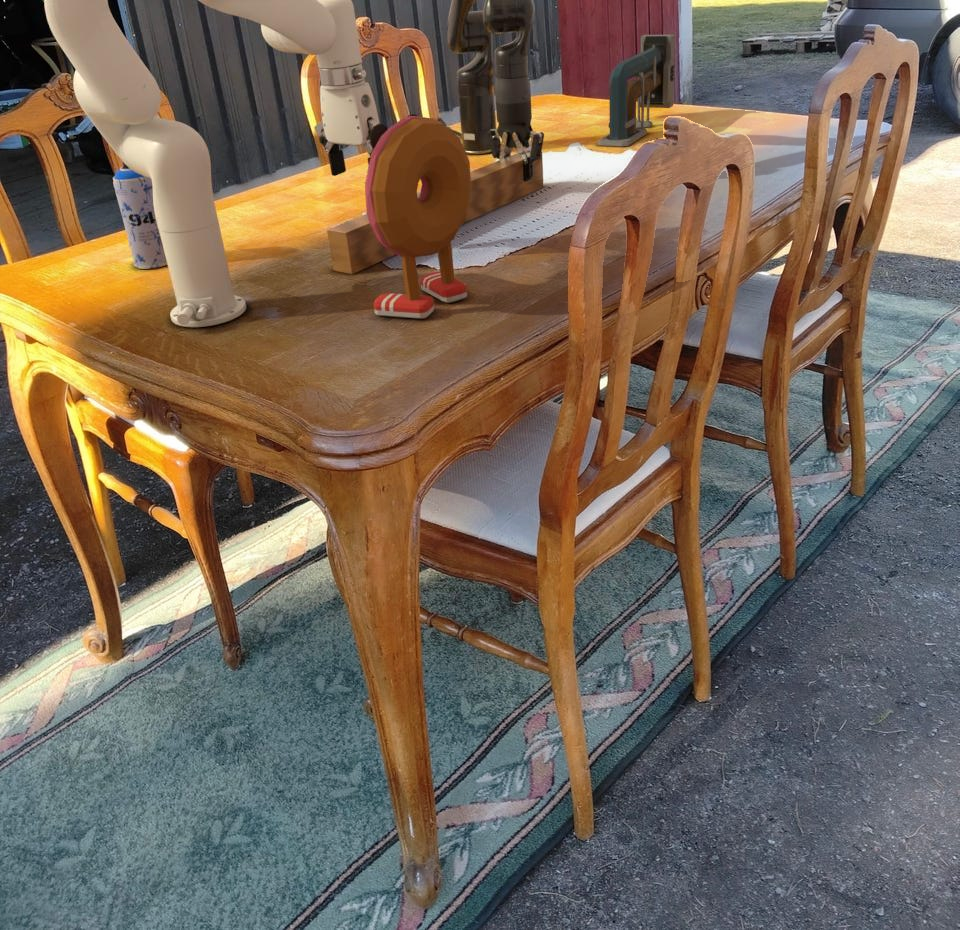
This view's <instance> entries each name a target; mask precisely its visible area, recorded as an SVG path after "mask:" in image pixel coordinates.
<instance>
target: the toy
mask: <svg viewBox="0 0 960 930" xmlns="http://www.w3.org/2000/svg"><path fill="white" fill-rule="evenodd" d="M446 126H447V125H446ZM446 126H445V125H444V124H442V123H441V122H440V121H438V120H437V119H435V118H431V117H425V116H419V115H417V114H415V113H414V114H413V113H410V114H409V115H407V116H405V117H403V118H401V119H400V120H398V121H397V122H396V123H394V124H393V125H392V126H390V127H389V128H388V126H386V125H385V124H384V123H380V124H377V125H376V126H374V127H373V129H372V130H371V133H370V145H371V146H372V148H373V151H372V154H371V158H370V162H369V165H367V166H368V167H367V171H366V172H367V173H366V178H365V182H364V195H365V208H366V209H365V210H366V211H365V212H366V214H367V216H368V220H369V223H370V225H371V227H372V229H373V231H374V233H375V235H376V237H377V239H378V240H379V241H380V242H381V244H382V245H383V246H385V247H386V248H387V249H389V250H390V251H392V252H394V253H396V255H397V256H399V257H401V269H402V277H403V282H404V290H405V293H387V292H386V293H382V294H380V295H379V296H378V297H377V298H375V300H374V302H373V310H374V314H375V315H376V316H380V317H393V318H404V319H405V318H407V319H409V318H410V319H426V318H428V317H429V316H430V315H431V314H432V313H433V312H434V311H435V303H434V298H433V297H435V298H436V299H437V300H439V301H441V302H443V303H446V304H448V303H449V304H450V303H454V302H457V301H461V300H464V299H466V298H467V297H468V291H467V285H466V283H465V282H463V281H461V280H459V279H457V278H455V270H454V260H453V247H452V241H454V239H455V237H456V236H457V235H458V232H459V231H460V228H461V227H462V225H463V224H464V223H463V221H464V219H465V218H466V214H467V209H468V204H469V200H470V195H471V190H472V187H471V175H470V172H471V163H470V160H469V157H468V154H466V152H465V150H464V147H463V145H462V139H461V137H460V136H459V135H457V134H454V133H453V132H452V131H451V130H450V129H451V128H449V127H448V126H447V127H448V128H449V129H448V128H447V127H446ZM419 182H421V186H420V191H419V192H420V195H419V198H418V197H417V193H418V188H419ZM462 223H463V224H462ZM435 254H437V257H438V264H439V271H434V272H430V273H426V274H423V275H422V276H421V277H420V282H419V276H418V269H417V268H418V267H417V258H421V257H427V256H428V257H429V256H433V255H435ZM419 283H420V285H419ZM420 289H421V290H422V291H424V292H426V293H427V294H428V295H421V294H420V292H421V291H420ZM430 295H431V296H430Z"/></svg>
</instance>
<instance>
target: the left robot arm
mask: <svg viewBox="0 0 960 930" xmlns="http://www.w3.org/2000/svg"><path fill="white" fill-rule="evenodd" d="M197 1H198V2H200V3H201V4H203V5H204V6H205V7H208V8H210V9H213V10H215V11H217V12H220V13H223V14H227V15H230V16H235V17H238V18H242V19H247V20H249V21H252V22H254V23H257V24H260V31H261V34H262V37H263V38H264V40H265V42H266V43H267V44H268V46H270V47H271V48H273V49H274V50H276V51H279V52H282V53H288V54H300V55H301V54H302V55H308V56H309V55H310V56H316V63H317V67H318V73H319V79H320V80H319V81H320V87H319V89H320V90H319V93H320V94H319V96H320V97H319V98H320V99H319V100H320V109H321V110H320V112H321V119H322V120H321V121H320V122H318V123H317V124H316V125H314V126H313V129H314V131H315V134H316V135H317V137H318V141H319V143H320V144H321V145H322V146H323V148H324V149H323V150H324V152H325V153H326V154H327V156H328V163H329V168H330V173H331V176H334V177H336V176H338V175H342V174H343V173H345V172H347V169H346V168H347V167H346V161H345V157H344V155H345V154H344V151H343V149H342V148H341V147H342V146H350V147H351V146H353V147H362V148H363V149H364V150H365V152H366V153H367V155H368V156H369V157H367V166H369V162H370V158H371V154H372V151H373V148H372V146H371V144H370V133H371V130H372V129H373V127H374V126H376V125H377V124H381V123H380V119H379V114H378V109H377V106H376V105H377V104H376V101H375V98H374V93H373V92H372V89H371V86H370V83H369V82H366V79H365V78H366V77H367V72H366V70H365V69H364V66H363V60H362V59H363V58H362V53H361V46H360V40H359V33H358V27H357V20H356V13H355V6H354V2H353V1H352V0H197ZM43 3H44V12H45V16H46V21H47V24H48V25H49V29H50V31H51V34H52V36H53V37H54V38H55V40H56V42H57V44H58V46H59V47H60V48H61V50H62V51H63V52H64V54H65V56H66V58H68V60H69V61H70V63H71V65H72V66H73V67H74V69H75V70H74V74H73V79H72V80H73V81H72V82H73V83H72V84H73V91H74V95H75V98H76V100H77V102H78V104H79V106H80V108H81V109H82V111H83V112H84V114H85V115H86V116H87V118H88V119H89V121H90V122H91V123H92V125H93V126H94V127H95V128H96V130H97V131H98V132H99V133H100V135H101V136H102V137H103V139H104V140H105V142H106V143H107V144H108V145H109V146H110V148H111V149H112V150H113V152H114V153H115V154H116V156H117V157H118V158H119V159H120V160H121V162H122V161H123V162H124V163H125V164H126V165H127V166H128V167H129V168H130V169H131V170H133V171H134V172H136V173H138V174H140V175H143V176H146V177H149V178H151V180H152V185H153V205H154V212H155V217H156V221H157V225H158V229H159V232H160V236H161V240H162V244H163V248H164V252H165V256H166V260H167V269H168V273H169V276H170V280H171V284H172V289H173V293H174V295H175V300H176V301H175V302H176V304H177V305H176V306H174V307H173V308H172V310H171V311H170V313H169V315H170V316H169V317H170V320H171V322H172V323H173V324H174V325H176V326H179V327H182V328H183V327H184V328H205V327H213V326H217V325H221V324H224V323H228V322H230V321H233V320H235V319H237V318H238V317H240V316H241V315H243V314H244V313H245V311H246V310H247V303H246V300H245V299H244V298H243V297H241V296H239V295H236V294H235V292H234V291H235V290H234V287H233V281H232V278H231V273H230V268H229V264H228V260H227V255H226V249H225V245H224V241H223V240H224V239H223V236H222V232H221V226H220V223H219V222H220V221H219V218H218V213H217V209H216V204H215V198H214V191H213V184H212V183H213V182H212V165H211V164H212V163H211V155H210V150H209V149H208V146H207V144H206V141H205V139H204V138H203V137H202V136H201V135H200V133H199V132H197V131H196V130H195V128H193V127H191V126H189V124H188V125H187V124H186V123H184V122H181V121H177V120H173V119H169V118H164V117H161V116H160V115H159V112H160V109H161V105H162V93H161V90H160V87H159V85H158V82H157V81H156V79H155V77H154V76H153V73H151V71H150V70H149V68H148V67H147V66H146V65H145V63H144V61H143V60H142V59H141V57H140V56H139V55H138V53H137V52H136V50H135V49H134V48H133V46H132V45H131V43H130V42H129V40H128V39H127V38H126V36H125V35H124V33H123V32H122V30H121V28H120V27H119V25H118V23H117V22H116V20H115V18H114V16H113V14H112V12H111V9H110V7H109V1H108V0H43ZM340 148H341V149H340ZM123 162H122V163H123Z"/></svg>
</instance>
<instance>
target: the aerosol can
mask: <svg viewBox="0 0 960 930" xmlns="http://www.w3.org/2000/svg"><path fill="white" fill-rule="evenodd" d="M121 162H122V166H121V167H120V168H119V169H118V170H117V171H116V172H115V174H114V176H113V177H112V180H113V181H112V183H113V188H114V192H115V195H116V199H117V202H118V207H119V210H120V214H121V218H122V221H123V225H124V229H125V232H126V236H127V240H128V244H129V249H130V252H131V256H132V260H133V266H134V267H135V268H136V269H141V270H148V269H157V268H161V267H164V266H168V264H167V260H166V256H165V252H164V248H163V244H162V240H161V236H160V232H159V229H158V225H157V221H156V217H155V212H154V205H153V185H152V180H151V178H149V177H146V176H143V175H140V174H138V173H136V172H134V171H133V170H131V169H130V168H129V167H128V166H127V165H126V164H125V163H124V162H123V161H122V160H121Z"/></svg>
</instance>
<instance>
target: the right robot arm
mask: <svg viewBox="0 0 960 930" xmlns="http://www.w3.org/2000/svg"><path fill="white" fill-rule="evenodd" d="M476 1H477V0H451V2H450V7H449V12H448V17H447V23H446V42H447V47H448V49H449V50H450V51H451V52H452V53H454V54H458V55H461V54H471V53H476V55H475V57H474V58H473V60H471V61H470V62H469V63H468V64H465V65H464V66H462V67H460V68H459V69H457V71H456V86H457V97H458V109H459V121H460V122H459V123H460V131H457V130H454V129H451V128H449V127H448V126H447V124H446V122H445V121H444V120H443V119H442V118H441V117H438V118H437V119H436V120H438V121H439V122H441V123H442V124H444V125H445V126H446V127H447V128H448V129H450V130H451V131H452V132H453V133H454V134H455V135H457V136H458V137H459V138H460V139H461V143H462V145H463V147H464V150H465V152H466V154H467V155H483V154H490V153H491V155H492V157H493V159H498V161H499V160H501V159H504V158H506V157H509V156H511V155H512V151H513V149H516V150H517V153H519V154H520V155H521V157H522V160H523V163H524V164H523V177H524V181H529V180H531V179H532V177H533V162H534V161H536V160H539V159H540V158H541V152H542V153H543V145H544V139H545V134H544V132H543V131H540V132H537V131H535V130H533V127H532V124H531V123H532V118H533V117H532V115H533V113H532V93H531V92H532V91H531V82H530V76H529V45H530V38H531V33H532V27H533V24H534V19H535V14H536V13H535V12H536V11H535V10H536V9H535V3H534V1H533V0H484V3H483V8H482V10H474V11H473V10H472V11H470V10H471V8H472V7H473V6H474V4H475V3H476ZM507 33H517V34H516V37H515V39H514V40H513V41H511V42H509V43H506V44H503V45H500V46H498V47H496V48H495V49H494V52H493V34H497V35H498V34H507ZM494 75H495V80H494ZM494 81H495V82H494ZM497 124H498V126H497Z"/></svg>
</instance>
